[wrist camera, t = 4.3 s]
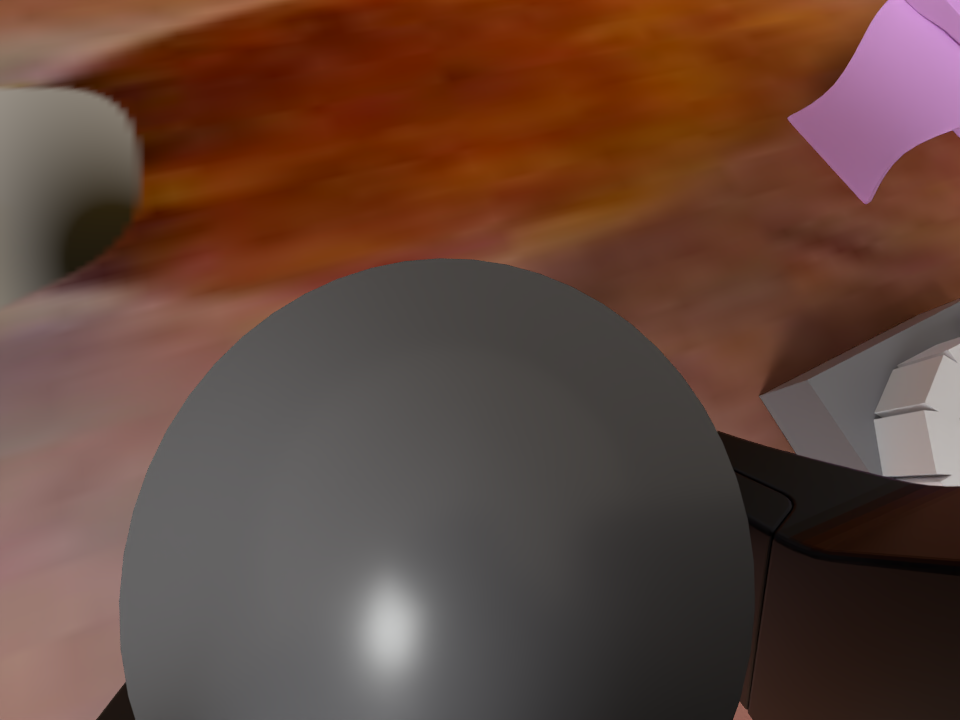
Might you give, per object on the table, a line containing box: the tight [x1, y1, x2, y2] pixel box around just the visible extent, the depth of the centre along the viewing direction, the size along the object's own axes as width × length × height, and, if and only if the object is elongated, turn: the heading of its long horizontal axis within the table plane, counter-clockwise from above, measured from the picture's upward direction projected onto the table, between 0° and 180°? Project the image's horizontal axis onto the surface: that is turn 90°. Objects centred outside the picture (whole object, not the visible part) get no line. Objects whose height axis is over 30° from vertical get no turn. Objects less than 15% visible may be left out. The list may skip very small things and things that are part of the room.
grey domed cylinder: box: [119, 259, 755, 720], centre depth 9 cm, size 5×5×12 cm
